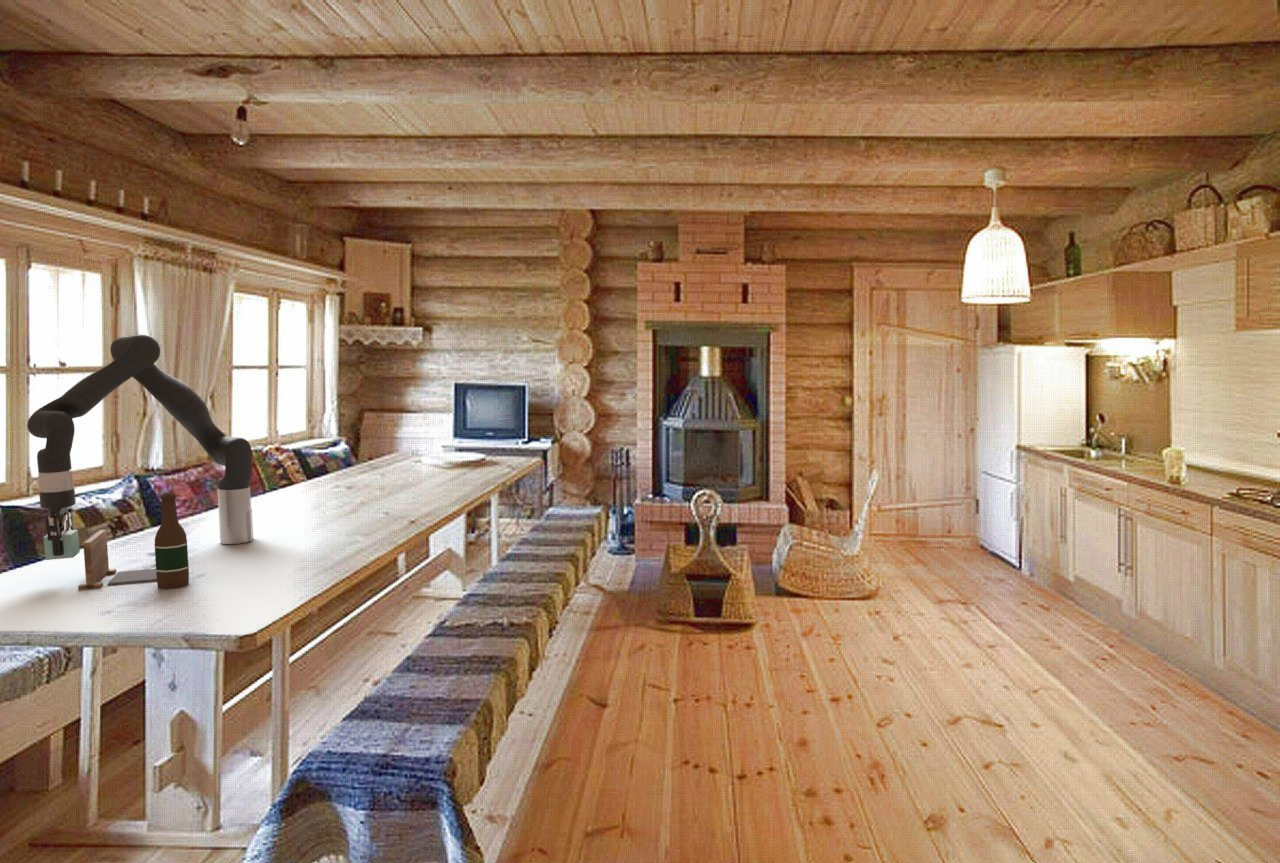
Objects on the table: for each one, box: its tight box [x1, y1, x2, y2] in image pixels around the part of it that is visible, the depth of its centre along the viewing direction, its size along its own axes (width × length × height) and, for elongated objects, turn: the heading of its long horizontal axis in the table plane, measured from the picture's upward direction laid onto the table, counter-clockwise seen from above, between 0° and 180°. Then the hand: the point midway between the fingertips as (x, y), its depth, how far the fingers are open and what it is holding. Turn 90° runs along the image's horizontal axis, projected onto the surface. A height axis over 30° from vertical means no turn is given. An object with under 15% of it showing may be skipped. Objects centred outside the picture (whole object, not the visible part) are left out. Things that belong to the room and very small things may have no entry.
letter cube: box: [43, 529, 80, 561], centre depth 216 cm, size 6×6×6 cm
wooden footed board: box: [77, 529, 117, 591], centre depth 220 cm, size 5×16×12 cm, turn 20°
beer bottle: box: [154, 492, 190, 590], centre depth 215 cm, size 8×8×24 cm
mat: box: [107, 568, 157, 586], centre depth 224 cm, size 12×12×1 cm
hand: (62, 552), depth 217 cm, fingers closed on letter cube, 6 cm apart
